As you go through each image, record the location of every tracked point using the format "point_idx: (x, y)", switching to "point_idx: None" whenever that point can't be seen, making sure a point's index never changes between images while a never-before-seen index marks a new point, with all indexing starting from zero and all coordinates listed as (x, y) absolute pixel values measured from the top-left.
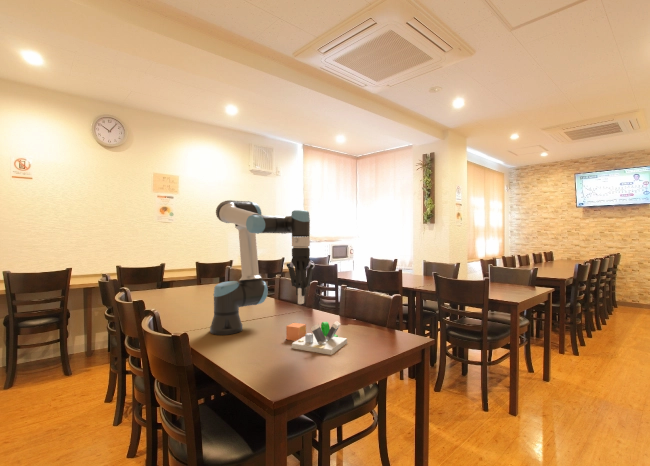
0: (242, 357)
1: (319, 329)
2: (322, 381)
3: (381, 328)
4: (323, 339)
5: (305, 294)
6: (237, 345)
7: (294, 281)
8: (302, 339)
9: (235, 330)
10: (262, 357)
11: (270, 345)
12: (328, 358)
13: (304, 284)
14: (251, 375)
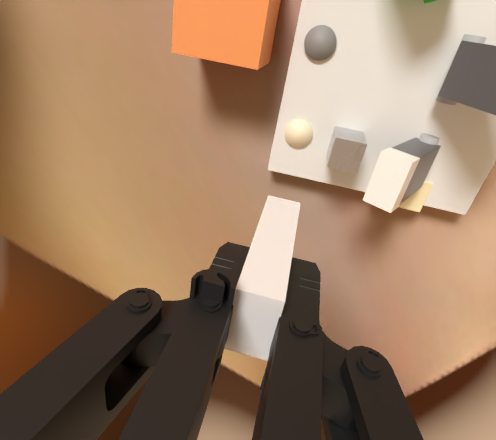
0: (156, 267)
1: (414, 174)
2: (431, 374)
3: None
4: (428, 170)
5: (318, 277)
6: (67, 174)
7: (99, 341)
8: (298, 103)
9: None
10: (211, 260)
11: (173, 148)
12: (444, 239)
13: (294, 361)
14: (245, 355)
